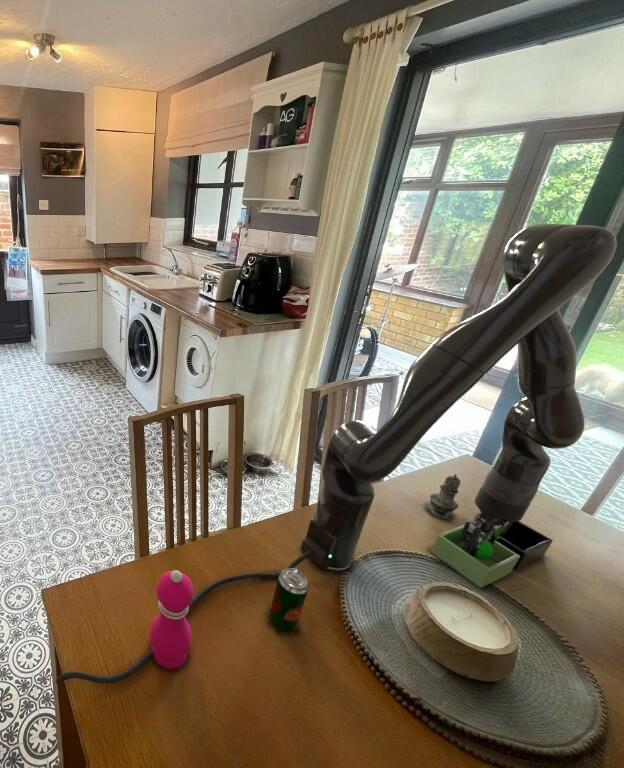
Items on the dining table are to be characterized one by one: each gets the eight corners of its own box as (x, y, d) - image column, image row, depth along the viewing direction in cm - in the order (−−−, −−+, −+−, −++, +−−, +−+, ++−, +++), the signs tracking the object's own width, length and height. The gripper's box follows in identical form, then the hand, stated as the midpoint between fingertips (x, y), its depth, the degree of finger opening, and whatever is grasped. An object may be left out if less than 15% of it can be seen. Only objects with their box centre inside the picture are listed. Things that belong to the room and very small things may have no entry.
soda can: (283, 639, 75) (296, 595, 70) (262, 616, 79) (273, 572, 74) (302, 627, 77) (316, 583, 72) (281, 605, 81) (292, 562, 76)
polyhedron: (491, 567, 87) (500, 550, 85) (462, 559, 89) (471, 543, 87) (483, 550, 91) (492, 534, 89) (456, 542, 93) (464, 527, 91)
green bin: (480, 588, 85) (490, 570, 83) (430, 551, 94) (438, 535, 91) (510, 573, 88) (520, 556, 86) (459, 539, 97) (467, 523, 95)
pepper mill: (179, 680, 69) (189, 601, 60) (141, 657, 72) (145, 578, 64) (195, 644, 74) (206, 566, 66) (159, 624, 78) (165, 547, 69)
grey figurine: (458, 521, 102) (476, 483, 97) (431, 518, 103) (448, 480, 98) (445, 505, 107) (462, 468, 102) (420, 502, 108) (436, 465, 103)
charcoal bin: (515, 570, 89) (525, 553, 87) (464, 537, 98) (472, 520, 95) (542, 556, 92) (553, 540, 90) (491, 525, 101) (499, 509, 99)
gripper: (506, 473, 88) (475, 531, 95) (463, 489, 83) (434, 549, 91) (550, 495, 82) (514, 556, 89) (506, 513, 77) (472, 576, 84)
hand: (474, 552), depth 90 cm, fingers closed on polyhedron, 5 cm apart
